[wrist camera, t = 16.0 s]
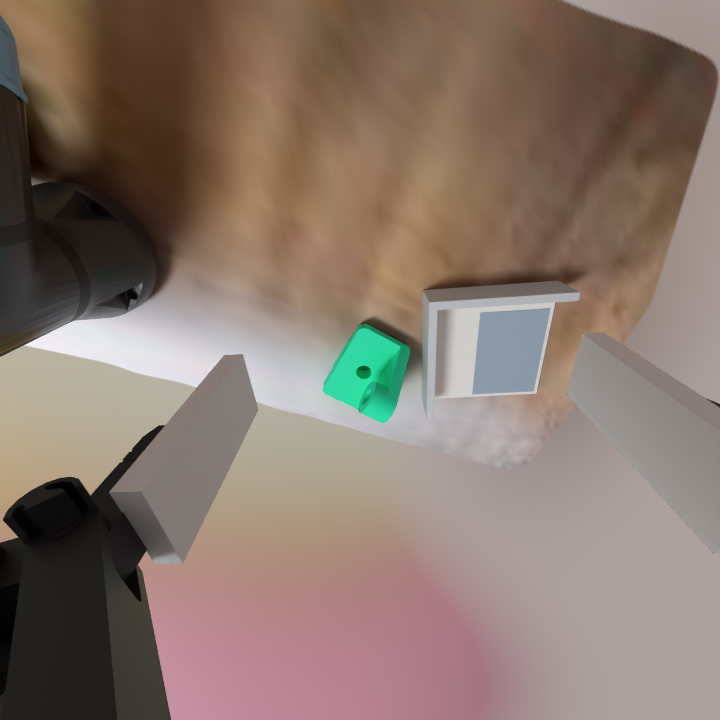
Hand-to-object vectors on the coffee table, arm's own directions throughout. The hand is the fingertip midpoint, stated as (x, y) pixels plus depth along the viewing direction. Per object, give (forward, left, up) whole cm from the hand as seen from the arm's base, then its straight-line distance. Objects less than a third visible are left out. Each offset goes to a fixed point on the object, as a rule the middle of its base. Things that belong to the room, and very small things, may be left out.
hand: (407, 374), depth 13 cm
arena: (+14, -15, -31) cm, 37 cm away
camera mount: (-4, -16, -31) cm, 35 cm away
